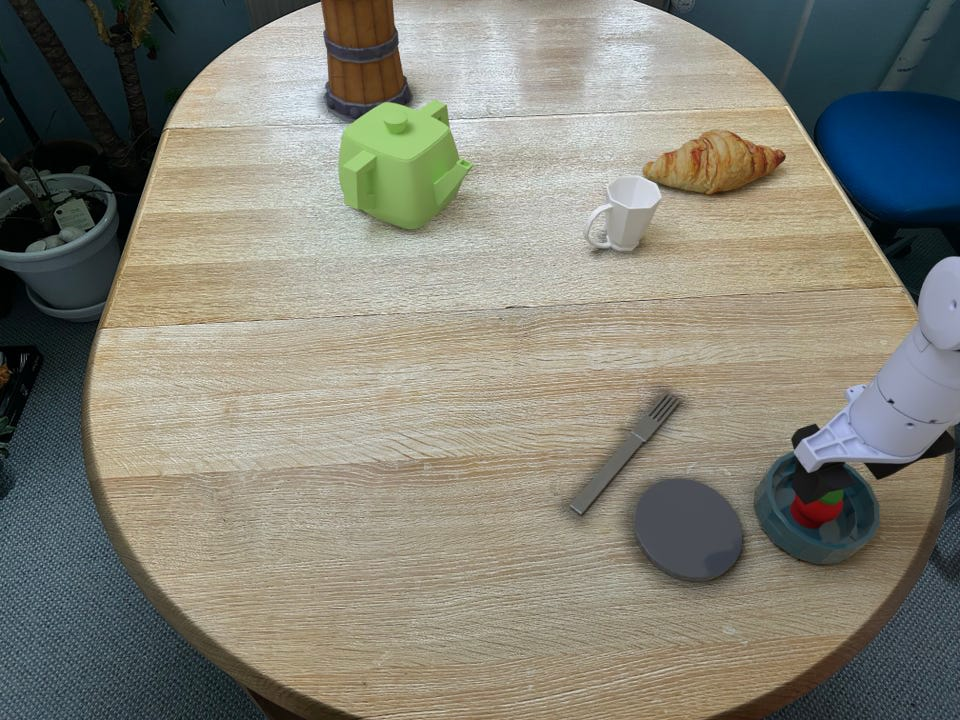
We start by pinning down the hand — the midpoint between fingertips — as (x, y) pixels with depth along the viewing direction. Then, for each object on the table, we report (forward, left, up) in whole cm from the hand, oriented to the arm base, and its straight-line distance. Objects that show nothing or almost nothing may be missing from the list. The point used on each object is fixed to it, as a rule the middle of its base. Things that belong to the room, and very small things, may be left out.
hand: (837, 481), depth 60 cm
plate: (+8, +9, -7) cm, 14 cm away
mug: (+88, -23, -7) cm, 91 cm away
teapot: (+61, -8, -7) cm, 62 cm away
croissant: (+34, -42, -7) cm, 55 cm away
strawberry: (0, 0, -7) cm, 7 cm away
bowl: (0, 0, -7) cm, 7 cm away
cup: (+36, -20, -7) cm, 42 cm away
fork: (+17, +5, -7) cm, 19 cm away
